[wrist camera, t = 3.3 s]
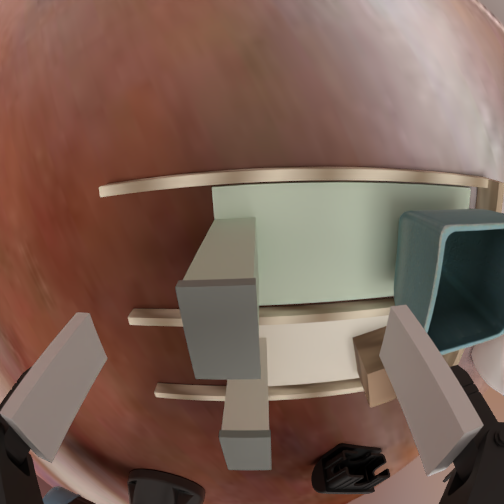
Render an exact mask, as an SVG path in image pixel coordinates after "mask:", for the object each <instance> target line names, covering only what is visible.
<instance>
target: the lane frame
mask: <svg viewBox="0 0 504 504" xmlns="http://www.w3.org/2000/svg"><path fill="white" fill-rule="evenodd" d="M307 180H367V181H400V182H421V183H437V184H450V185H462V186H473V187H478V189H477V200H476V209H485V210H491V211H495V212H499V213H501V211H502V203H503V193H504V183H502V182H499V181H496V180H493V179H489V178H486V177H480V176H473V175H464V174H455V173H446V172H435V171H423V170H409V169H392V168H369V167H280V168H256V169H238V170H223V171H210V172H199V173H188V174H178V175H169V176H161V177H152V178H145V179H137V180H130V181H123V182H117V183H110V184H106V185H103V186H100V187H99V193H100V197H106V196H113V195H120V194H128V193H136V192H144V191H153V190H162V189H172V188H182V187H193V186H205V185H218V184H233V183H251V182H272V181H307ZM391 306H395V302H394V298H386V299H376V300H366V301H355V302H343V303H330V304H315V305H299V306H281V307H259V325H279V324H297V323H312V322H326V321H338V320H349V319H359V318H368V317H377V316H386V315H389V312H390V308H391ZM128 320H129V324H130V325H146V326H183V323H182V318H181V314H180V309H133V310H132V311H131V313H130V314H129V316H128ZM464 349H465V348H464ZM464 349H461V350H457V351H454V352H450V353H447V354H445V355H442V356H443V358H444V359H445V361H446V362H447V364H448V366H449V367H451V366H455V365H458V363H459V361H460V359H461V356H462V354H463V352H464ZM226 387H227V386H205V385H182V384H167V383H157V386H156V389H155V391H154V393H155V395H156V397H161V398H173V399H186V400H206V401H225V396H226ZM361 391H364V389H363V386H362V383H361V381H360V378H355V379H347V380H339V381H331V382H321V383H311V384H298V385H282V386H268V401H269V400H288V399H302V398H314V397H324V396H332V395H340V394H348V393H355V392H361Z"/></svg>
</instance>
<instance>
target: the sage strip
mask: <svg viewBox="0 0 504 504" xmlns="http://www.w3.org/2000/svg"><path fill="white" fill-rule="evenodd" d="M470 192H471V188H469V187H461V186H449V185H435V184H417V183H395V182H342V181H335V182H281V183H257V184H238V185H223V186H212V197H213V209H214V219H215V220H214V221H213V223H212V225H211V227H210V229H209V231H208V233H207V234H206V236H205V238H204V240H203V242H202V244H201V246H200V248H199V250H198V251H197V253H196V255H195V257H194V259H193V261H192V263H191V265H190V267H189V269H188V271H187V273H186V275H185V277H184V279H183V280H179V281H178V283H177V285H176V287H175V289H176V294H177V299H178V304H179V309H180V314H181V318H182V323H183V328H184V332H185V337H186V341H187V346H188V350H189V354H190V358H191V362H192V366H193V370H194V374H195V378H196V379H225V380H237V379H261V365H260V347H259V306H260V305H283V304H301V303H317V302H331V301H344V300H356V299H368V298H378V297H388V296H394V276H395V265H396V255H397V243H398V226H399V219H400V216H401V215H402V214H403V213H404V212H406V211H411V210H453V209H469V203H470Z"/></svg>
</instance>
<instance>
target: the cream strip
mask: <svg viewBox="0 0 504 504" xmlns="http://www.w3.org/2000/svg"><path fill="white" fill-rule="evenodd" d="M388 317H389V315H386V316H377V317H368V318H359V319H349V320H338V321H326V322H312V323H297V324H279V325H259V347H260V365H261V379H237V380H227V387H226V396H225V404H224V413H223V421H222V430H220V431H219V440H220V443H221V447H222V450H223V454H224V457H225V460H226V464H227V467H228V470H271V430H269V404H268V386H282V385H298V384H311V383H321V382H331V381H339V380H347V379H355V378H359V375H358V372H357V365H356V358H355V351H354V344H353V338H352V337H356V336H359V335H362V334H365V333H368V332H371V331H373V330H376V329H379V328H382V327H385V326H387V322H388Z"/></svg>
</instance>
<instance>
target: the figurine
mask: <svg viewBox="0 0 504 504" xmlns="http://www.w3.org/2000/svg"><path fill="white" fill-rule="evenodd" d="M471 357H472V360H473V363H474V365H475V367H476V369H477V371H478V372H479V374H480V375H481V377H482V378H483V379H484V381H485V382H486V383H487V384H488V385H489V386H490V387H491V388H493V389H494V390H496V391H498V392H499V393H501V394H502V395H503V396H504V334H503V335H501V336H500V337H498V338H495V339H492V340H489V341H486V342H483V343H480V344H476V345H474V347H473V349H472V353H471Z"/></svg>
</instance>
